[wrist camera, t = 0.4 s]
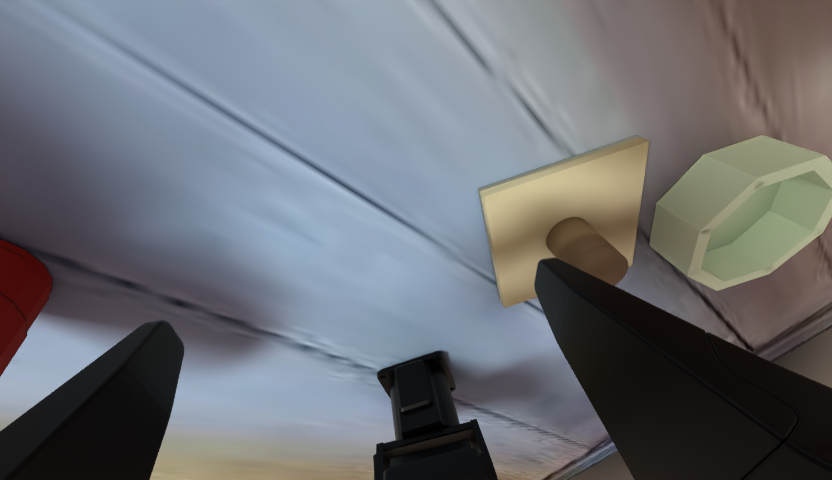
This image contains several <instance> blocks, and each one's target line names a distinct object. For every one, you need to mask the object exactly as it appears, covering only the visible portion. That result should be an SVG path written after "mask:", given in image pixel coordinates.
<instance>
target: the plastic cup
mask: <svg viewBox="0 0 832 480" xmlns="http://www.w3.org/2000/svg"><path fill="white" fill-rule="evenodd" d="M51 291H52V277H51V276H50V274H49V272H48V271H47V269H46V267H45V266H44V264H42V263H41V262H40V261H39V260H37V259H36V258H35V257H34V256H33V255H31V254H30V253H29V252H28V251H26V250H24V249H22V248H19V247H17V246H15V245H13V244H11V243H9V242H7V241H5V240H1V239H0V376H1V375H2V373H3V372H4V370H5V369H6V367H7V366H8V364H9V363H10V361H11V360H12V358H13V356H14V355H15V353H16V352H17V350H18V349H19V347H20V346H21V344H22V343H23V341H24V340H25V338H26V337H27V331H28V330H29V328H30V327H31V325H32V324H33V322H34V321H35V319H36V318H37V316H38V315H39V313H40V312H41V310H42V309H43V307H44V306H45V304H46V303H47V301H48V300H49V294H50V293H51Z"/></svg>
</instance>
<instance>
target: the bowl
mask: <svg viewBox="0 0 832 480" xmlns="http://www.w3.org/2000/svg"><path fill="white" fill-rule="evenodd" d="M831 217H832V162H831V160H830V159H829V158H828V157H827V156H826V155H823V154H820V153H817V152H814V151H811V150H808V149H804V148H801V147H798V146H795V145H792V144H789V143H786V142H783V141H779V140H776V139H773V138H770V137H767V136H764V135H760V136H757V137H754V138H751V139H748V140H745V141H742V142H739V143H736V144H733V145H730V146H727V147H724V148H721V149H718V150H715V151H712V152H709V153H706V154H703V155H702V156H701V157H700V158H699V159H698V161H697V162H696V163H695V164H694V165H693V166H692V167H691V168H690V169H689V170H688V171H687V172H686V173H685V174H684V175H683V176H682V177H681V178H680V179H679V180H678V181H677V182H676V183H675V184H674V185H673V186H672V187H671V188H670V190H669V191H668V192H667V193H666V194H665V195H664V196H663V197H662V198H661V199H660V200H659V201H658V202H657V203H656V208H655V214H654V219H653V225H652V231H651V237H650V243H649V246H650V247H652V248H653V249H654V250H655V251H657V252H658V253H659V254H660V255H661V256H663V257H664V258H665V259H666V260H668V261H669V262H670V263H671V264H673V265H674V266H675V267H676V268H678V269H679V270H680V271H681V272H683V273H684V274H685V275H686V276H688V277H690V278H692V279H694V280H696V281H698V282H700V283H702V284H704V285H706V286H708V287H710V288H712V289H714V290H716V291H718V290H722V289H725V288H728V287H731V286H734V285H737V284H740V283H743V282H746V281H749V280H752V279H756V278H759V277H762V276H765V275H768V274H770V273H771V272H773V271H774V270H775V269H776V268H778V267H779V266H780V265H782V264H783V263H784V262H785V261H787V260H788V259H789V258H791V257H792V256H793V255H794V254H796V253H797V252H798V251H800V250H801V249H802V248H803V247H805V246H806V245H807V244H808V243H810V242H811V241H812V240H814V239H815V238H816V237H817V236H819V235H820V234H821V233H823V231H824V230H825V228H826V226H827V224H828V222H829V220H830V219H831Z"/></svg>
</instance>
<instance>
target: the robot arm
mask: <svg viewBox="0 0 832 480" xmlns="http://www.w3.org/2000/svg"><path fill="white" fill-rule="evenodd" d="M534 288H535V292H536V295H537V297H538V299H539V302H540V304H541V306H542V309H543V311H544V313H545V316H546V318H547V320H548V323H549V325H550V327H551V330H552V332H553V334H554V337H555V339H556V341H557V343H558V345H559V347H560V349H561V351H562V352H563V354H564V356H565V358H566V359H567V361H568V363H569V365H570V367H571V368H572V370H573V372H574V374H575V375H576V377H577V379H578V381H579V382H580V384H581V386H582V388H583V389H584V391H585V393H586V395H587V396H588V398H589V400H590V402H591V404H592V405H593V407H594V409H595V411H596V412H597V414H598V416H599V418H600V419H601V421H602V423H603V425H604V426H605V428H606V430H607V432H608V434H609V435H610V437H611V439H612V441H613V442H614V444H615V446H616V448H617V449H618V451H619V453H620V455H621V456H622V458H623V460H624V462H625V463H626V465H627V467H628V469H629V470H630V472H631V474H632V476H633V478H634V479H635V480H832V388H830V387H828V386H825V385H823V384H821V383H818V382H816V381H814V380H811V379H809V378H807V377H804V376H802V375H800V374H798V373H795V372H793V371H790V370H788V369H786V368H784V367H782V366H779V365H777V364H775V363H773V362H770V361H768V360H766V359H764V358H761V357H759V356H757V355H755V354H753V353H751V352H749V351H747V350H744V349H742V348H740V347H738V346H736V345H734V344H732V343H730V342H728V341H726V340H724V339H722V338H719V337H717V336H715V335H713V334H711V333H709V332H707V333H706V332H705V330H703V329H701V328H699V327H697V326H695V325H693V324H691V323H689V322H687V321H685V320H683V319H681V318H679V317H677V316H674V315H672V314H670V313H668V312H666V311H664V310H662V309H660V308H658V307H656V306H654V305H652V304H650V303H648V302H646V301H644V300H642V299H640V298H638V297H636V296H634V295H632V294H630V293H628V292H626V291H624V290H621V289H619V288H617V287H615V286H613V285H611V284H609V283H607V282H605V281H603V280H601V279H599V278H597V277H595V276H593V275H591V274H589V273H587V272H585V271H583V270H581V269H579V268H577V267H575V266H573V265H571V264H569V263H566V262H564V261H562V260H560V259H558V258H555V257H552V258H545V259H541V260H540V261H539V262H538V265H537V270H536V276H535V282H534ZM183 356H184V345H183V342H182V341H181V339H180V338H179V336H178V335H177V333H176V332H175V330H174V329H173V327H172V326H171V325H170V323H169V322H167V321H165V320H160V321H154V322H148V323H145V324H143V325H141V326H140V327H139V328H137V329H136V330H135V331H133V332H132V333H131V334H129V335H128V336H127V337H125V338H124V339H123V340H121V341H120V342H119V343H117V344H116V345H115V346H113V347H112V348H111V349H109V350H108V351H107V352H105V353H104V354H103V355H101V356H100V357H99V358H97V359H96V360H95V361H93V362H92V363H91V364H89V365H88V366H87V367H85V368H84V369H83V370H81V371H80V372H79V373H77V374H76V375H75V376H73V377H72V378H71V379H69V380H68V381H67V382H66V383H64V384H63V385H62V386H60V387H59V388H58V389H56V390H55V391H54V392H52V393H51V394H50V395H48V396H47V397H46V398H44V399H43V400H42V401H40V402H39V403H38V404H36V405H35V406H34V407H32V408H31V409H30V410H28V411H27V412H26V413H24V414H23V415H22V416H20V417H19V418H18V419H16V420H15V421H14V422H12V423H11V424H10V425H8V426H7V427H6V428H4V429H3V430H2V431H0V480H149V479H150V476H151V473H152V470H153V467H154V464H155V461H156V458H157V455H158V452H159V449H160V446H161V443H162V440H163V437H164V434H165V431H166V428H167V425H168V422H169V418H170V415H171V411H172V407H173V402H174V398H175V393H176V388H177V384H178V379H179V374H180V370H181V365H182V361H183ZM377 378H378V380H379V381H380V383H381V385H382V386H383V388H384V389H385V391H386V392H387V394H388V396H389V397H390V399H391V404H392V412H393V421H394V430H395V438H396V440H395V441H391V442H387V443H384V444H383V443H379V444H377V445H376V454H375V455H374V456H373V458H374V480H498V479H497V475H496V472H495V469H494V466H493V463H492V460H491V457H490V455H489V452H488V449H487V446H486V444H485V441H484V438H483V436H482V433H481V430H480V427H479V425H478V422H477V419H474V420H470V422H466V423H463V424H460V423H459V419H458V416H457V412H456V408H455V405H454V401H453V397H452V394H451V392H452V391H454V390H455V389H456V386H455V383H454V381H453V378H452V376H451V373H450V370H449V368H448V365H447V363H446V360H445V358H444V355H443V353H442V352H436V353H433V354H430V355H427V356H424V357H420V358H417V359H414V360H411V361H408V362H405V363H402V364H399V365H396V366H393V367H390V368H387V369H384V370H381V371H379V372H378V373H377Z"/></svg>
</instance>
